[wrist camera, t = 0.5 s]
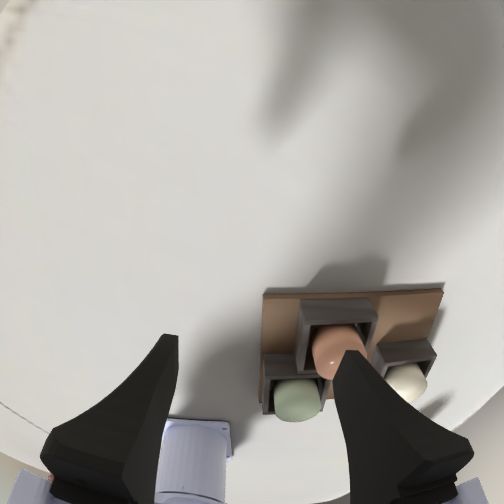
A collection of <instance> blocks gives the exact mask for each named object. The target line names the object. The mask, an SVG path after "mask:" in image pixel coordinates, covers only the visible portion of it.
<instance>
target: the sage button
mask: <svg viewBox="0 0 504 504" xmlns="http://www.w3.org/2000/svg"><path fill="white" fill-rule="evenodd" d="M273 393H274V404H275V414H276V416H277V417H278V418H279V419H281V420H283V421H286V422H302V421H305V420H308V419H311V418H313V417H314V416H316V415H317V414H318V413H319V412H320V410H321V402H320V397H319V393H318V388H317V383H316V380H315V378H300V379H277V380H276V381H275V383H274V385H273Z"/></svg>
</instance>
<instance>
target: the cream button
mask: <svg viewBox="0 0 504 504" xmlns="http://www.w3.org/2000/svg"><path fill="white" fill-rule="evenodd" d="M383 379H384V380H385V381H386V382H387V383H388V384H389V385H390V386H391V387H392V388H393V389H394V390H395V391H396V392H397V393H398V394H399V395H400V396H401V397H402V398H403V399H404V400H405V401H407V402H408V403H411V402H413V401H414V400H416V399H417V398H419V397H420V396H421V395H422V394H423V393H424V392H425V390H426V388H427V381H426V379H425V377H424V375H423V373H422V371H421V370H420V368H419V366H418V364H417V362H414V363H408V364H401V365H394V366H388V368H387V371H386V373H385V376H384V378H383Z"/></svg>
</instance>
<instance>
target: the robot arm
mask: <svg viewBox="0 0 504 504" xmlns="http://www.w3.org/2000/svg"><path fill="white" fill-rule="evenodd" d="M178 370H179V361H178V336H177V335H170V334H163V335H161V337H160V338H159V340H158V341H157V343H156V344H155V346H154V347H153V348H152V350H151V351H150V352H149V354H148V355H147V356H146V357H145V359H144V360H143V361H142V362H141V363H140V365H139V366H138V367H137V368H136V369H135V370H134V371H133V372H132V373H131V374H130V375H129V377H128V378H127V379H126V380H125V381H124V382H123V383H122V384H120V385H119V386H118V387H117V388H116V389H115V390H114V391H113V392H111V393H110V394H109V395H108V396H107V397H105V398H104V399H103V400H101V401H100V402H99V403H97V404H96V405H95V406H93V407H92V408H90V409H88V410H87V411H85V412H84V413H82V414H80V415H79V416H77V417H75V418H73V419H72V420H70V421H68V422H65V423H63V424H61V425H59V426H57V427H55V428H53V429H52V431H51V433H50V434H49V436H48V438H47V439H46V442H45V444H44V446H43V449H42V451H41V454H40V459H41V461H42V462H43V464H44V465H45V466H46V467H47V469H48V470H49V471H50V472H51V473H52V474H53V475H54V479H53V482H51V481H49V480H47V479H45V478H43V477H41V476H39V475H37V474H34V473H32V472H30V471H28V470H26V469H23V468H21V469H20V471H19V473H18V476H17V478H16V481H15V484H14V487H13V489H12V492H11V495H10V497H9V501H8V503H7V504H226V503H225V480H226V461H232V451H231V440H230V428H229V423H227V422H219V421H197V420H182V419H170V418H167V417H168V414H169V410H170V407H171V403H172V399H173V396H174V392H175V388H176V382H177V376H178ZM332 384H333V392H334V400H335V404H336V408H337V412H338V415H339V419H340V423H341V427H342V430H343V434H344V438H345V442H346V447H347V455H348V463H349V475H350V504H488V501H487V499H486V496H485V494H484V491H483V489H482V486H481V483H480V481H479V479H478V478H477V477H476V478H474V479H471V480H469V481H467V482H464V483H462V484H460V485H458V486H455V484H454V482H455V481H457V477H456V473H457V472H458V471H459V470H461V469H462V468H463V467H464V466H465V465H466V464H467V463H468V462H470V460H471V459H472V458H473V456H474V451H473V449H472V447H471V445H470V443H469V440H468V439H467V438H465V437H462V436H460V435H458V434H455V433H453V432H451V431H449V430H447V429H445V428H444V427H442V426H440V425H438V424H437V423H435V422H433V421H432V420H430V419H429V418H427V417H426V416H424V415H423V414H422V413H420V412H419V411H418V410H416V409H415V408H414V407H413V406H411V405H410V404H409V403H408V402H407V401H405V400H404V399H403V398H402V397H401V396H400V395H399V394H398V393H397V392H396V391H395V390H394V389H393V388H392V387H391V386H390V385H389V384H388V383H387V382H386V381H385V380H384V379H383V377H382V376H381V375H380V374H379V373H378V372H377V371H376V370H375V368H374V367H373V366H372V365H371V364H370V363H369V362H368V360H367V359H366V358H365V357H364V356H363V355H362V354H361V353H360V352H359V350H346V351H345V353H344V355H343V358H342V360H341V362H340V364H339V367H338V369H337V371H336V373H335V375H334V378H333V380H332ZM162 440H163V442H162V448H161V441H162ZM160 448H161V453H160ZM159 455H160V459H159ZM158 462H159V464H158Z"/></svg>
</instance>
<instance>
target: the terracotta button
mask: <svg viewBox="0 0 504 504" xmlns="http://www.w3.org/2000/svg"><path fill="white" fill-rule="evenodd" d="M310 346H311V350H312V354H313V358H314V363H315V367H316V371H317V373H318V374H319V375H320V376H321V377H323V378H325V379H330V380H333V378H334V375H335V373H336V371H337V369H338V367H339V364H340V362H341V360H342V358H343V355H344V353H345V351H346V350H359V352H360V353H361V354H362V355H363V356H364V357H365V358H366V359H367V353H366V350H365V347H364V345H363V343H362V340H361V338H360V336H359V333H358V331H357V329H356V327H355V325H354V324H353V323H349V324H329V325H319V326H318V327H317V328H316V329H315V330H314V331H313V333H312V334H311V337H310Z"/></svg>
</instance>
